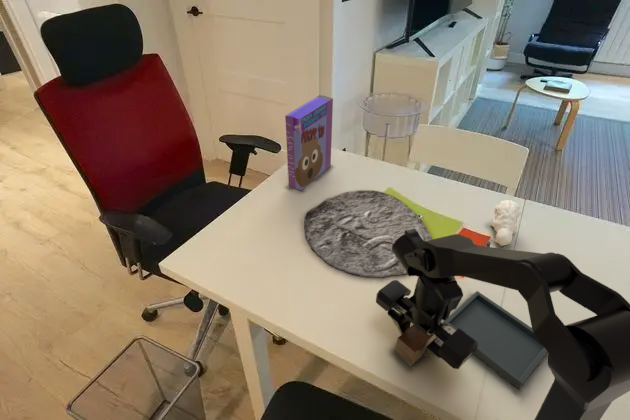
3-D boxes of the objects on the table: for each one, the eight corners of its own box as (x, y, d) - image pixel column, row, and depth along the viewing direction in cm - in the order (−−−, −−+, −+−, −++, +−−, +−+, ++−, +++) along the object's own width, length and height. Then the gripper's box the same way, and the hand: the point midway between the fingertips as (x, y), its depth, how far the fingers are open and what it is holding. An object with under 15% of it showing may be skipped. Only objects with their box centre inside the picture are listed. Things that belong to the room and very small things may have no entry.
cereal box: (301, 191, 115) (299, 118, 100) (288, 186, 117) (285, 114, 102) (330, 166, 126) (332, 97, 111) (318, 162, 128) (319, 94, 113)
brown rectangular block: (435, 342, 75) (441, 328, 72) (410, 366, 71) (414, 352, 68) (419, 329, 77) (424, 314, 74) (394, 351, 73) (397, 337, 70)
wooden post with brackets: (489, 247, 94) (493, 240, 90) (482, 276, 91) (487, 270, 87) (481, 245, 95) (485, 238, 91) (475, 273, 92) (478, 267, 88)
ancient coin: (376, 303, 82) (376, 302, 82) (280, 224, 102) (280, 223, 102) (459, 235, 99) (459, 234, 99) (362, 179, 119) (363, 178, 119)
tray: (549, 348, 74) (554, 342, 72) (518, 389, 67) (522, 383, 66) (474, 296, 84) (477, 290, 82) (441, 327, 77) (443, 322, 76)
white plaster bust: (524, 199, 97) (525, 231, 89) (513, 222, 103) (513, 254, 95) (498, 194, 99) (496, 225, 91) (489, 217, 105) (486, 247, 97)
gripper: (506, 305, 62) (480, 354, 72) (416, 244, 73) (404, 295, 83) (469, 343, 56) (446, 392, 66) (378, 272, 68) (370, 322, 77)
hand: (415, 345), depth 73 cm, fingers open, 5 cm apart
